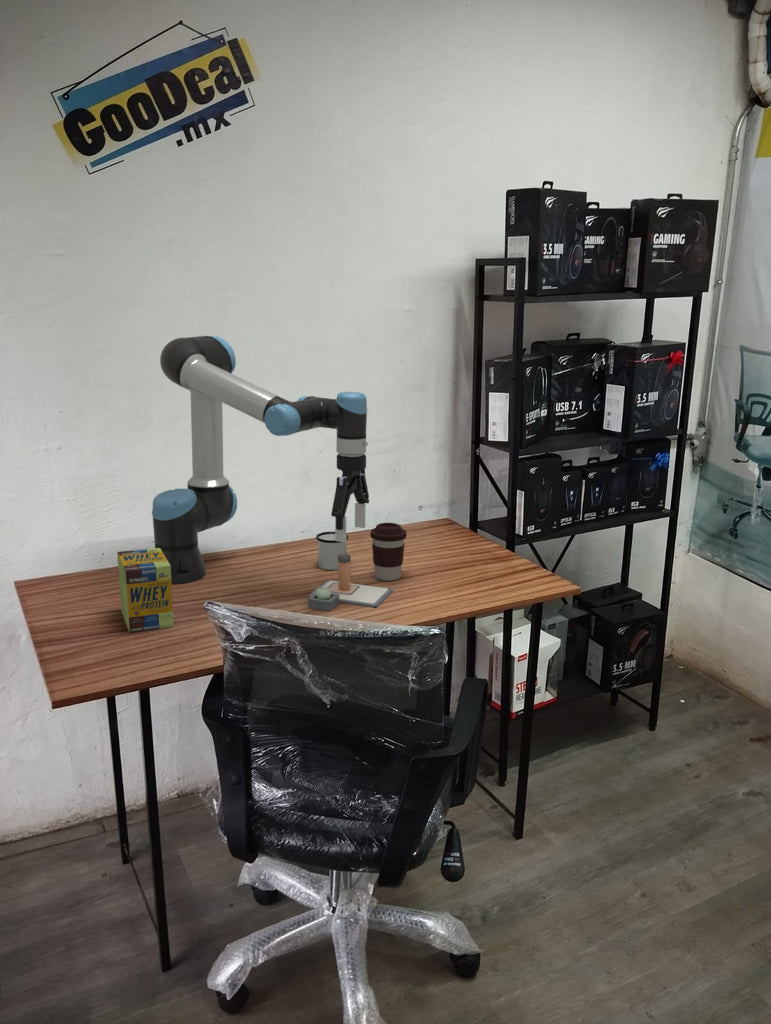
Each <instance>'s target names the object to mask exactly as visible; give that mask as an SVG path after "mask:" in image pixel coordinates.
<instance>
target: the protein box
mask: <svg viewBox="0 0 771 1024" xmlns="http://www.w3.org/2000/svg"><path fill="white" fill-rule="evenodd" d="M116 555H117V568H118V581H119V595H120V599H119V600H120V610H121V613H122V615H123V620H124V622H125V624H126V627H127V630H128V633H131V634H132V633H138V632H144V631H145V632H146V631H151V630H152V631H153V630H157V629H166V628H173V627H174V623H175V622H174V621H175V620H174V605H173V604H174V603H173V587H172V582H171V566H170V564H169V562H168V561H167V559H166V557H165V555H164V554H163V552H162V550H161V549H160V548H155V547H154V548H144V549H134V550H123V551H121V550H120V551H117V553H116Z"/></svg>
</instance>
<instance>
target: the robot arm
mask: <svg viewBox="0 0 771 1024" xmlns="http://www.w3.org/2000/svg"><path fill="white" fill-rule="evenodd" d="M233 349H234V348H233V347H232V345H230V344H229V342H228V341H227V340H225V339H224V338H223V337H219V336H217V335H216V336H215V335H200V336H191V337H177V338H174V339H172V340H171V341H169V342H168V343H167V344H166V345H164V347H163V349H162V350H161V353H160V358H159V362H160V363H159V364H160V368H161V370H162V372H163V375H165V376H166V378H167V379H168V380H170V381H171V382H172V383H174V384H176V385H178V386H179V387H182V388H184V389H185V390H187V391H189V392H190V422H191V426H190V427H191V457H192V458H191V459H192V465H191V466H192V476H191V477H190V478H189V479H188V481H187V482H186V483H187V488H175V489H167V490H165V491H162V492H160V493H158V494H156V496H155V497H154V498H153V500H152V510H151V515H152V523H153V524H152V525H153V526H152V527H153V536H154V537H153V539H154V548H160V549H161V550H162V552H163V554H164V555H165V557H166V559H167V561H168V562H169V564H170V566H171V582H172V584H185V583H191V582H194V581H197V580H198V581H199V579H202V578H204V576H206V574H207V573H206V564H205V561H204V558H203V557H202V554H201V551H200V548H199V537H198V533H202V532H203V531H207V530H209V529H212V528H215V527H220V526H222V525H224V524H225V523H227V522H229V521H231V519H232V518H234V516H235V514H236V512H237V508H238V498H237V497H238V496H237V494H236V492H234V489H233V487H231V485H230V481H229V480H228V479H227V478H226V476H224V439H223V438H224V436H223V434H224V433H223V432H224V431H223V430H224V429H223V427H224V424H223V404H225V405H227V406H228V407H231V408H233V409H234V410H235V409H236V410H237V411H239V412H241V413H244V414H245V415H248V416H249V417H251V418H254V419H256V420H258V421H260V422H261V423H262V424H263V423H264V425H265V427H266V429H267V430H268V431H269V433H270V434H272V435H273V436H276V437H283V436H284V437H286V436H291V435H293V434H297V433H301V432H304V431H308V430H312V429H318V428H324V429H333V430H335V429H336V450H335V451H336V452H337V455H336V469H337V470H339V471H341V472H342V473H341V474H342V475H341V476H337V477H336V485H335V492H334V497H333V503H332V510H331V514H330V515H331V517H334V519H335V520H334V521H335V529H334V530H335V531H334V532H335V541H339V542H346V534H347V516H345V515H346V513H347V509H348V506H349V501H350V499H351V495H353V496H354V497H355V498H354V499H355V501H356V502H355V503H354V528H360V529H365V528H366V507H367V506H366V504H369V503H370V499H369V498H370V496H369V489H368V484H367V477H366V469H367V455H366V454H365V453H367V446H368V445H369V442H367V422H368V421H367V419H368V405H367V404H368V402H367V395H366V394H365V393H363V392H359V391H341V392H338V393H337V395H336V398H328V397H327V398H326V397H317V396H314V395H311V396H305V395H303V396H301V397H299V398H298V400H296V401H290V400H288V399H285V398H283V397H280V396H279V395H277V394H275V393H273V392H271V391H269V390H267V389H266V388H265V389H264V388H262V387H260V386H258V385H256V384H254V383H251V382H249V381H248V380H246V379H244V378H241V377H239V376H237V375H235V374H233V372H234V371H235V368H236V362H237V361H236V353H235V352H234V350H233Z"/></svg>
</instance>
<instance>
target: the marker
mask: <svg viewBox="0 0 771 1024" xmlns="http://www.w3.org/2000/svg"><path fill="white" fill-rule="evenodd" d="M351 556H352V555H351V554H348V553H347V554H340V555H338V570H337V571H338V572H337V573H338V574H337V575H338V576H337V577H338V582H339V590H340V591H349V590H350V589H351V577H352V576H351V575H352V574H351V560H352V558H351Z"/></svg>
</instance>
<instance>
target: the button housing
mask: <svg viewBox="0 0 771 1024" xmlns="http://www.w3.org/2000/svg"><path fill="white" fill-rule="evenodd" d="M339 604H340V603H339V594H335V593H331V598H330V599H329V600H322V599H317V592H316V593H315V594H313V595H312V596H311V597H310V598H308V599H307V608H308V609H310V610H319V611H324V612H331V611H332V610H333V609H335V608H336V607H337V606H338V605H339Z"/></svg>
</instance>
